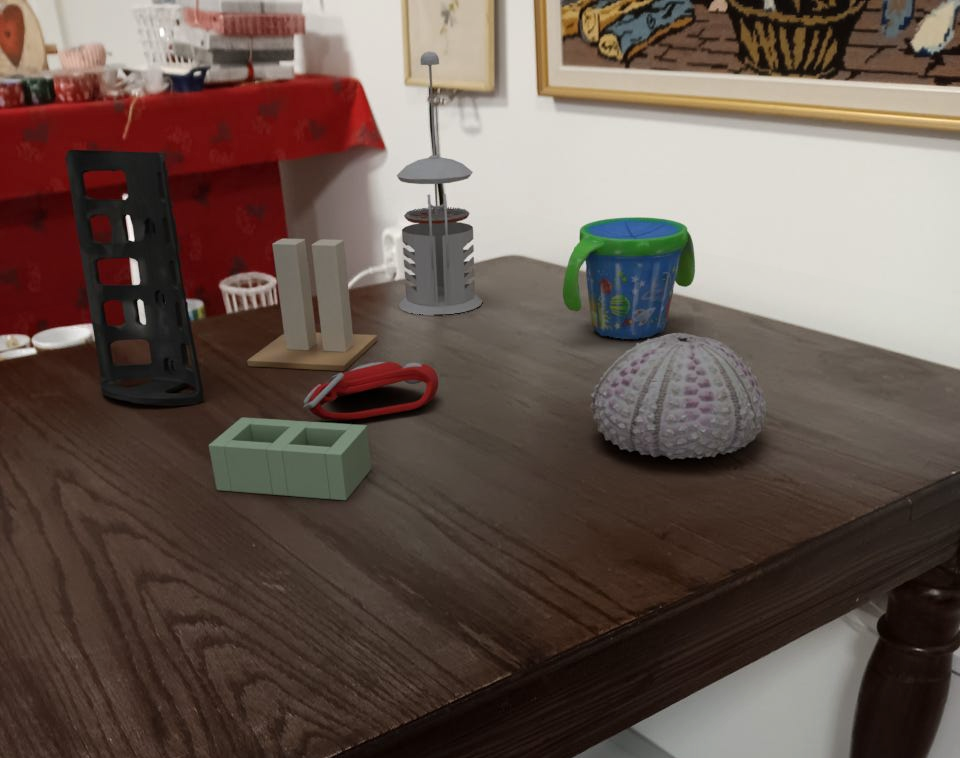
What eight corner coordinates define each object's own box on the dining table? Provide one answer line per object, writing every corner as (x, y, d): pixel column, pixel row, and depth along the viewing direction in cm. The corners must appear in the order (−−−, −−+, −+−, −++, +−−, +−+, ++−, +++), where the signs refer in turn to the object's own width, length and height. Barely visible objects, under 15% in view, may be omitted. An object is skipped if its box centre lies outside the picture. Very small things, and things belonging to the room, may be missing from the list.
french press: (480, 291, 118) (474, 47, 104) (487, 318, 108) (482, 53, 95) (398, 294, 118) (381, 50, 104) (397, 322, 108) (379, 56, 94)
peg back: (285, 349, 99) (271, 243, 93) (295, 342, 101) (281, 238, 95) (308, 350, 98) (295, 244, 93) (317, 343, 100) (305, 238, 95)
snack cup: (591, 357, 96) (595, 246, 90) (537, 330, 104) (537, 227, 98) (720, 332, 102) (731, 226, 96) (660, 308, 110) (667, 210, 104)
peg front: (323, 351, 98) (310, 244, 92) (331, 344, 100) (320, 239, 94) (346, 352, 97) (335, 245, 92) (354, 345, 99) (344, 239, 94)
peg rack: (216, 490, 72) (208, 445, 70) (248, 460, 77) (241, 417, 75) (346, 500, 70) (341, 454, 68) (371, 469, 75) (367, 424, 73)
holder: (76, 401, 88) (31, 150, 79) (123, 381, 95) (87, 148, 85) (189, 410, 86) (157, 153, 77) (229, 389, 92) (204, 151, 83)
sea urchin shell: (563, 423, 81) (566, 324, 77) (709, 400, 85) (719, 305, 81) (637, 486, 71) (644, 376, 66) (799, 457, 74) (817, 350, 70)
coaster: (247, 366, 96) (246, 360, 96) (287, 336, 104) (286, 330, 104) (344, 371, 94) (344, 365, 94) (377, 340, 102) (377, 334, 102)
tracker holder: (336, 370, 91) (439, 346, 88) (349, 418, 92) (451, 396, 89) (286, 383, 80) (402, 356, 77) (301, 438, 81) (416, 412, 78)
